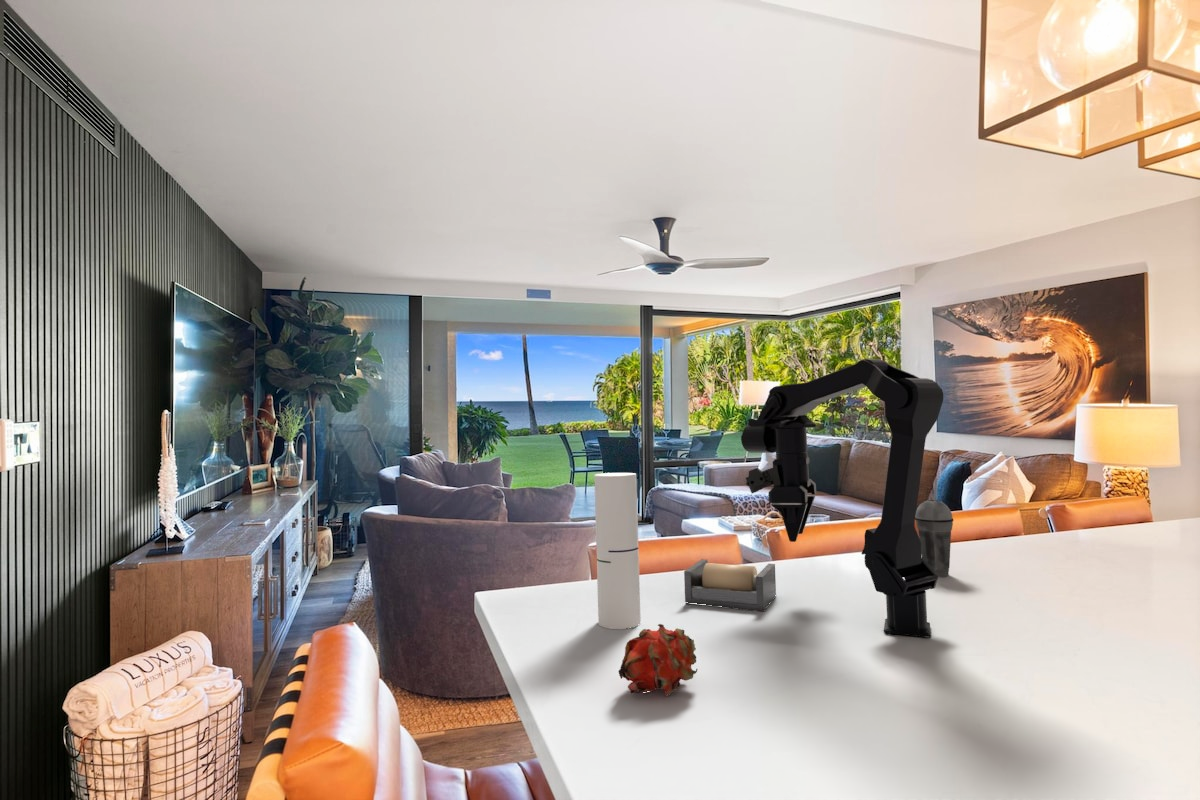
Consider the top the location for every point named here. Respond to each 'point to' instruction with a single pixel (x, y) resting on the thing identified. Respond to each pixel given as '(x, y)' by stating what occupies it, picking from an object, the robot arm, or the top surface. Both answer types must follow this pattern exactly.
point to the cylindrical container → (617, 550)
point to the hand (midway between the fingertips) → (796, 537)
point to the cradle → (730, 590)
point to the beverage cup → (935, 534)
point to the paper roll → (729, 576)
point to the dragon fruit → (658, 660)
